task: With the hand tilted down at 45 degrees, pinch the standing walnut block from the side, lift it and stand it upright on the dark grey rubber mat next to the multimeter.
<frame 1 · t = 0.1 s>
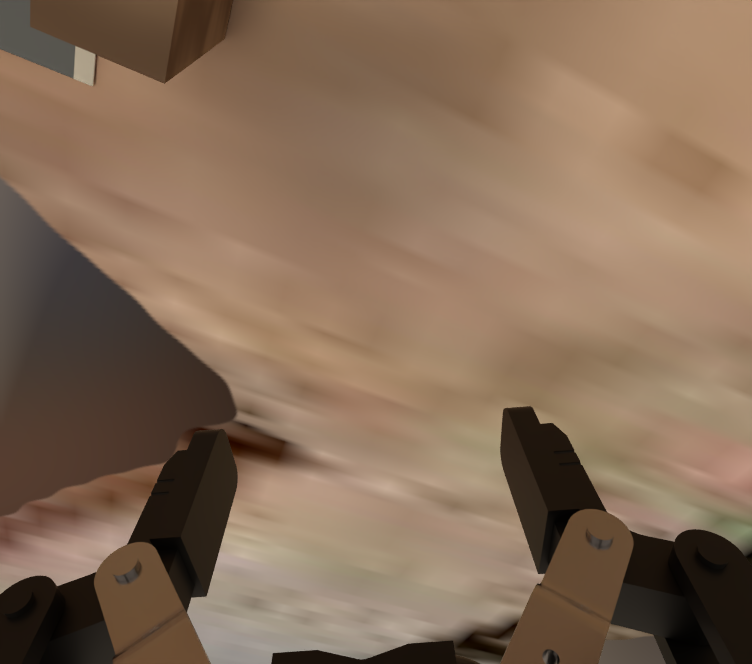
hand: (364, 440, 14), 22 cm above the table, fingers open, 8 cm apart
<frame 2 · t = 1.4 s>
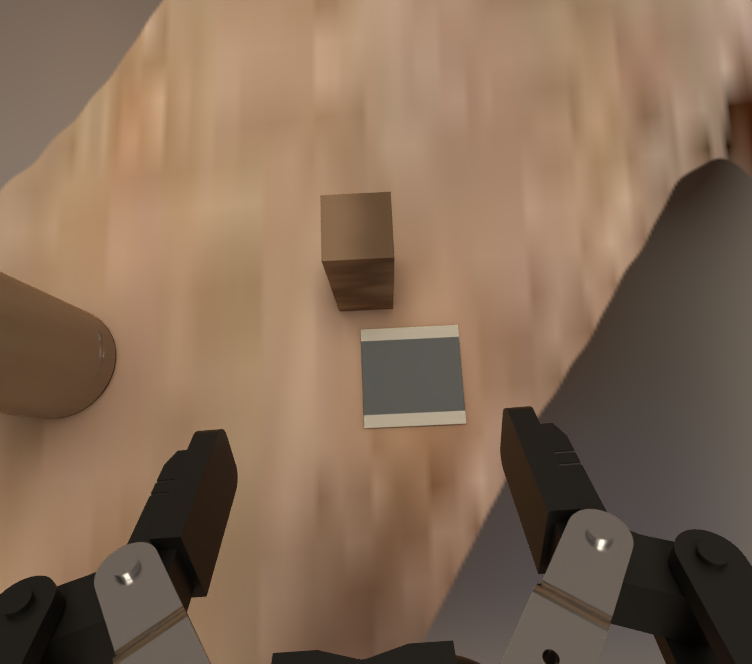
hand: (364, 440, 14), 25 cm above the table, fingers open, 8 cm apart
block: (364, 284, 41), on the table
mat: (412, 375, 39), on the table
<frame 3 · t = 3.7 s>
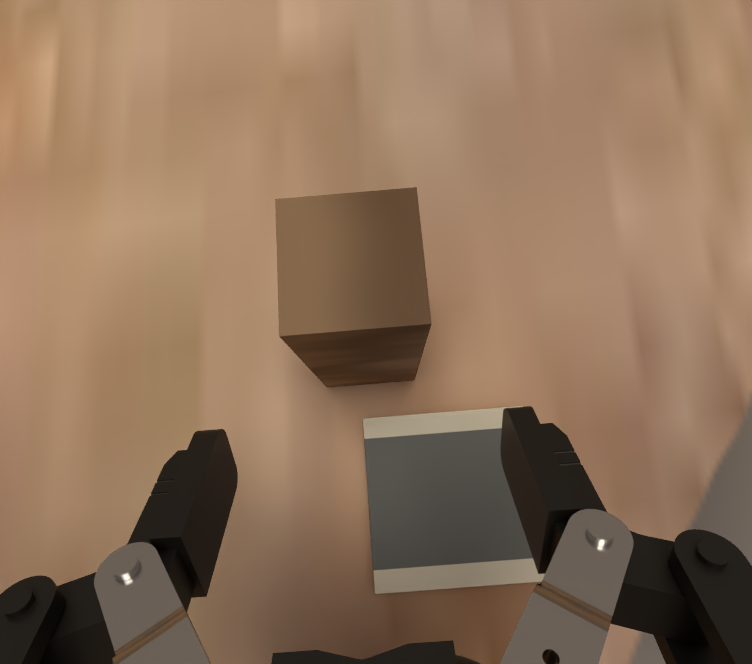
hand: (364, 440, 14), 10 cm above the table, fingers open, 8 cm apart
block: (367, 341, 26), on the table
mat: (451, 495, 24), on the table
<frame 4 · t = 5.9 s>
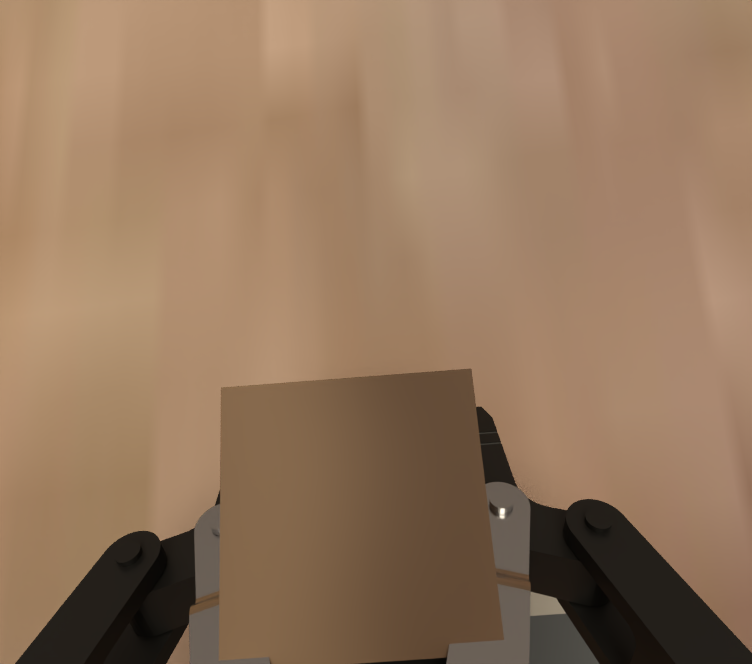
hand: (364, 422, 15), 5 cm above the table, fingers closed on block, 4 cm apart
block: (375, 480, 19), on the table, touching gripper
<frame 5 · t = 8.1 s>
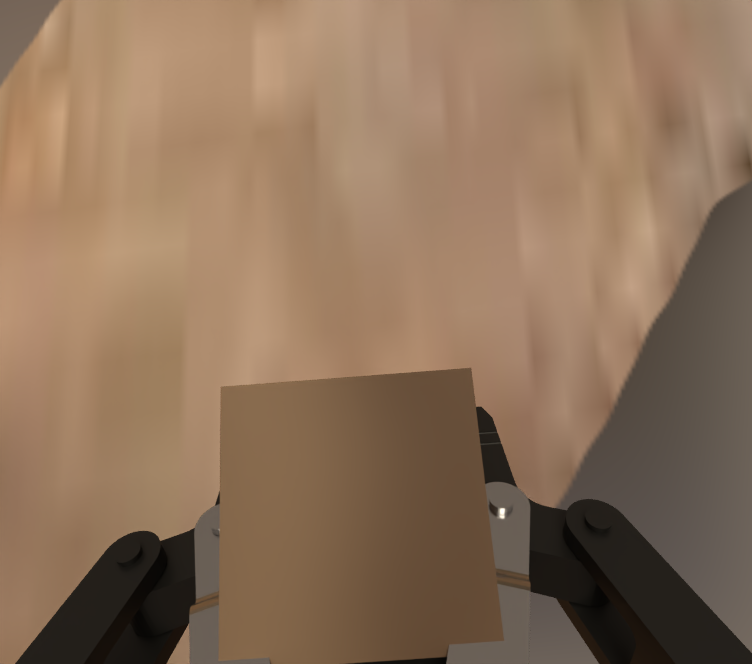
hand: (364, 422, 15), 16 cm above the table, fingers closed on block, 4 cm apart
block: (375, 479, 19), point 12 cm above the table, touching gripper
when the fingers open (6 cm above the table, at t = 10.5 s): block stays where it is, resting on mat.
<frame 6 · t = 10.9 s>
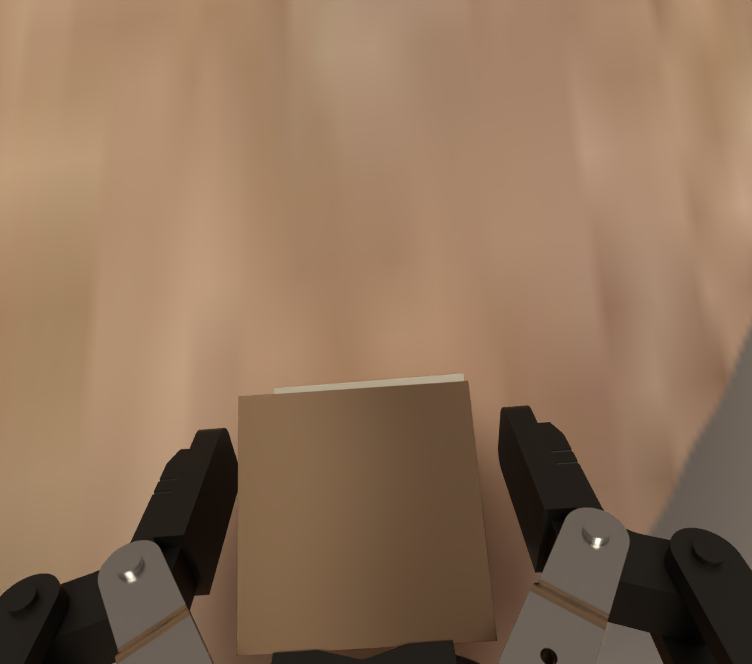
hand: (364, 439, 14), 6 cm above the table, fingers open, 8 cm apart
block: (377, 481, 20), resting on mat
mat: (375, 479, 20), on the table
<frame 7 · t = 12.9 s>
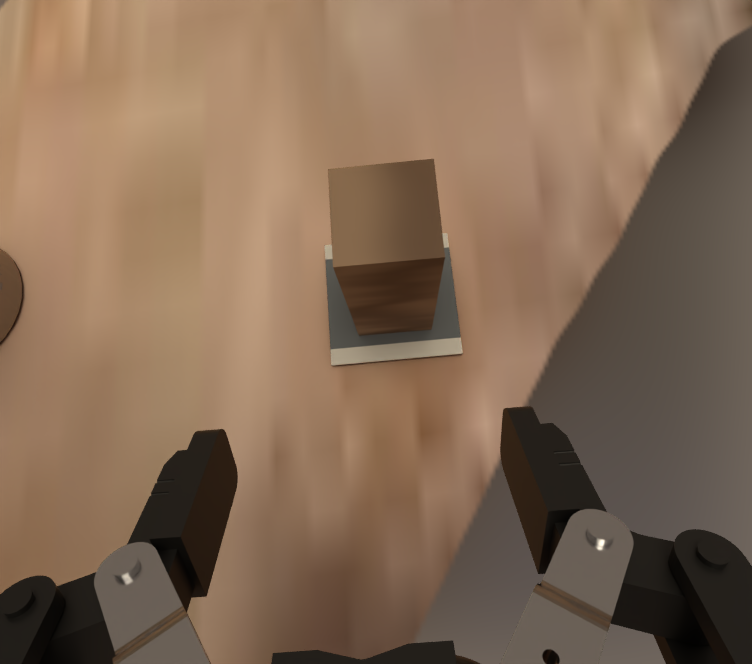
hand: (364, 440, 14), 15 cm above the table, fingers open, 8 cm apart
block: (392, 298, 31), resting on mat
mat: (391, 298, 31), on the table
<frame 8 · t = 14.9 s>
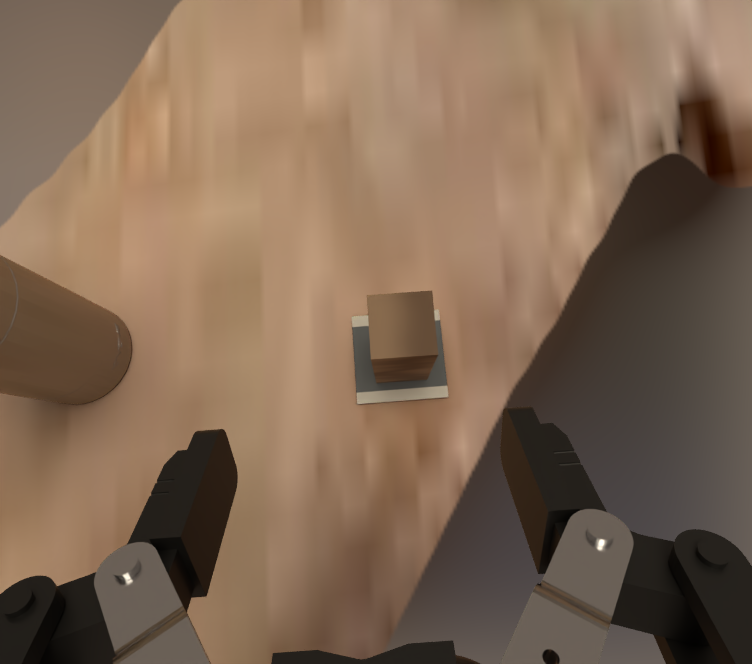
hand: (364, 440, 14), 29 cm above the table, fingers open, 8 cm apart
block: (399, 356, 44), resting on mat
mat: (398, 356, 44), on the table
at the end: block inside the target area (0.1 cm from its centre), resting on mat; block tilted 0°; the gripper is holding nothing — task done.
